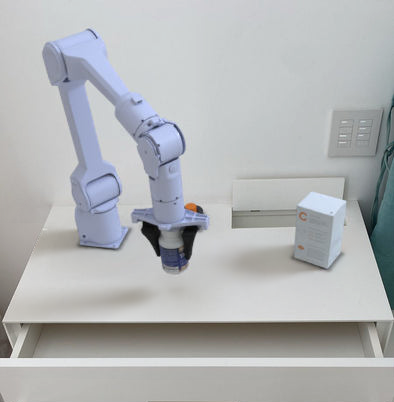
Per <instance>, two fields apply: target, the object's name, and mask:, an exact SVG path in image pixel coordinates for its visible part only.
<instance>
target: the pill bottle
mask: <svg viewBox="0 0 394 402" xmlns="http://www.w3.org/2000/svg"><path fill="white" fill-rule="evenodd" d="M182 232H183V231H182V227H172V228H170V229H169V230H167V231H166V230H161V234H160V236H159V247H160V254H161V256H160V260H161V261H160V263H161V267H162V270H163V272H164V273H166V274H168V275H174V276H175V275H181V274H184V273H185V272H186V271H187V270H188V269H189V267H190V260H186V258H185V246H184V242H183V239H182V237H181V234H182Z"/></svg>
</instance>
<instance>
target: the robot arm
mask: <svg viewBox="0 0 394 402" xmlns="http://www.w3.org/2000/svg"><path fill="white" fill-rule="evenodd" d="M41 55H42V61H43V64H44V67H45V71H46V74H47V78H48V80H49V84H50V85H51V86H52V87H57V88H58V89H57V90H58V93H59V96H60V99H61V100H60V101H61V103H62V107H63V111H64V114H65V118H66V122H67V125H68V129H69V132H70V136H71V140H72V144H73V147H74V152H75V155H76V157H77V158H76V159H77V162H78V164H77V165H76V166H75V168H74V170H73V171H72V173H71V174H70V175H69V181H70V186H71V189H70V192H71V196H72V199H73V201H74V203H75V208H74V222H75V226H76V229H77V233H78V236H79V240H80V241H79V245H80V246H86V247H87V246H88V247H95V248H96V247H97V248H105V249H115V250H116V249H118V248H119V247H120V246H121V244H122V242H123V240H124V238H125V236H126V235H127V233H128V232H129V227H128V226H122V224H121V219H120V213H119V209H118V208H119V207H118V202H120V198H119V197H120V196H121V195H122V193H123V184H122V181H121V178H120V177H119V175H118V172H117V169H116V166H115V165H113V163H111V162H110V161H108V160H106V159H103V155H102V151H101V148H100V142H99V139H98V135H97V131H96V127H95V122H94V119H93V115H92V110H91V106H90V102H89V98H88V94H87V90H86V83H87V81H88V82H90V84H92V85H93V86H94V87H95V88H96V89H97V90H98V91H99V92H100V93H101V95H103V97H104V98H106V100H107V101H109V103H110V104H112V106H114V117H115V119H116V120H117V121H118V122H119V124H120V125H121V126H122V128H123V129H124V130H125V131H126V132H127V133H128V134H129V136H130V137H131V138H132V139H133V140H134V142H135V143H136V144H137V145H136V149H137V150H136V151H137V153H138V155H139V159H140V160H141V162H142V166H143V170H144V173H145V174H146V175H147V177H148V183H149V191H150V198H151V205H152V207H146V208H133V209H132V211H131V213H130V218H131V223H132V224H138V223H141V224H142V225H141V228H140V232H141V234H142V235H143V236H144V237H145V238H146V239H147V241H148V242H149V243H150V245H151V247H152V249H153V251H154V253H155V255H156V257H157V258H158V257H159V258H161V254H160V247H159V236H160V234H161V230H166V231H167V230H169V229H170V228H172V227H182V226H185V228H184V230H183V232H182V234H181V237H182V239H183V242H184V246H185V258H186V260H189V261H190V260H191V258H192V256H193V248H194V243H195V239H196V236H197V233H198V231H199V230H200V229H201V230H202V231H208V229H209V227H210V214H209V215H208V214H204V213H203V214H199V213H196V212H193V211H190V210H187V209H184V206H185V201H184V189H183V180H182V179H183V178H182V167H181V158H180V157H181V156H182V155H183V156H184V154H185V153H186V149H187V143H186V138H185V136H184V133H183V131H182V130H181V128H180V126H179V125H178V124H177V123H176V122H175V121H173V120H168V118H166V117H161V116H160V115H159V114H158V113H157V111H156V110H155V109H154V108H153V107H152V106H151V104H150V103H149V102H148V101H147V100H146V98H145V97H144V96H143V95H142V94H141V93H140V92H137V91H136V92H135V91H130V89H129V88H128V87H127V85H126V83H124V81H123V80H122V79H121V77H120V76H119V74H118V73H117V71H116V70H115V68H114V67H113V65H112V64H111V63H110V61H109V57H108V51H107V47H106V43H105V41H104V39H103V38H102V36H101V35H100V34H99V32H97V31H96V30H95V29H94V28H92V27H88V28H86V29H84V30H83V31H79V32H76V33H73V34H70V35H67V36H63V37H62V38H61V37H60V38H58V39H54V40H50V41H46V42H45V43H44V46H43V49H42V50H41ZM199 227H200V229H199ZM198 229H199V230H198Z"/></svg>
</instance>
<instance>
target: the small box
mask: <svg viewBox="0 0 394 402" xmlns="http://www.w3.org/2000/svg"><path fill="white" fill-rule="evenodd" d="M347 202H348V201H347V200H344V199H342V198H341V199H340V198H337V197H334V196H330V195H327V194H322V193H319V192H317V191H316V192H315V191H312V190H311V191H310V192H309V193H307V195H306V196H305V197H304V198H303V199H302V200H301V201H300V202H299V203H297V204H296V217H295V233H294V249H293V258H294V259H296V260H299V261H303V262H306V263H309V264H311V265H315V266H318V267H321V268H323V269H326V270H327V269H329V268H330V266H331V265H332V264H333V263H334V262H335V261H336V259H337V258H338V257H339V255H341V250H342V244H343V235H344V234H343V233H344V227H345V218H346V212H347Z"/></svg>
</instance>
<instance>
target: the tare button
mask: <svg viewBox="0 0 394 402" xmlns="http://www.w3.org/2000/svg"><path fill="white" fill-rule="evenodd" d="M196 205H197V204H196V203H194V202H189V203H186V204H184V206H185V209H187V210H190V211H193V212H196V213H197V208H196Z"/></svg>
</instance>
